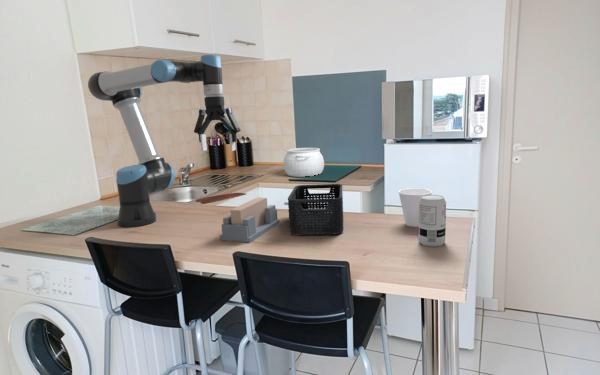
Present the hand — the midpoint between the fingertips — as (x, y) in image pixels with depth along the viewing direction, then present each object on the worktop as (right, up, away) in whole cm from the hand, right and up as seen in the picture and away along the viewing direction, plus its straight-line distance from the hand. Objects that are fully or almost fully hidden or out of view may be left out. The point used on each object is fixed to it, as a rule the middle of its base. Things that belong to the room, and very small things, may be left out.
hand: (218, 150), depth 170 cm
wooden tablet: (-7, -21, +49) cm, 54 cm away
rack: (+15, -31, -12) cm, 36 cm away
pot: (+35, -6, +108) cm, 114 cm away
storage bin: (+40, -29, -7) cm, 50 cm away
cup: (+75, -28, -13) cm, 81 cm away
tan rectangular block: (+14, -29, -12) cm, 35 cm away
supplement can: (+75, -33, -34) cm, 88 cm away
